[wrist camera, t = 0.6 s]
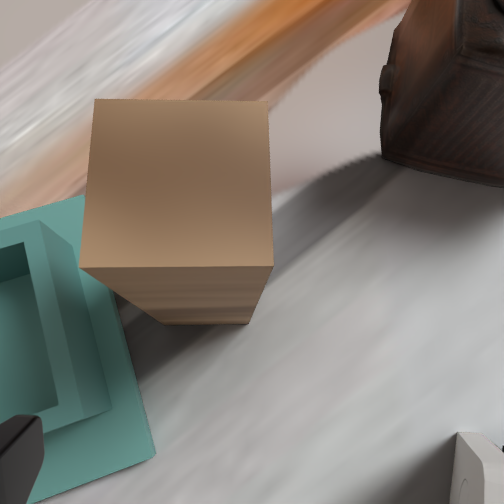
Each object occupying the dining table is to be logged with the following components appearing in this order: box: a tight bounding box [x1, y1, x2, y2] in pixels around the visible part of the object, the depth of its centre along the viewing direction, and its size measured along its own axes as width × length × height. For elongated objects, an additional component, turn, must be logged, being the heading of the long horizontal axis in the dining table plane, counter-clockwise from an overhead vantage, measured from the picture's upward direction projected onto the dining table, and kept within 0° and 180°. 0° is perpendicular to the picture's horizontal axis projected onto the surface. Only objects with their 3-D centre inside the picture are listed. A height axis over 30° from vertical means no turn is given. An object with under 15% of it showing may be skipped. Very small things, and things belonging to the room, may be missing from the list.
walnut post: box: [79, 99, 274, 325], centre depth 16 cm, size 4×4×13 cm
